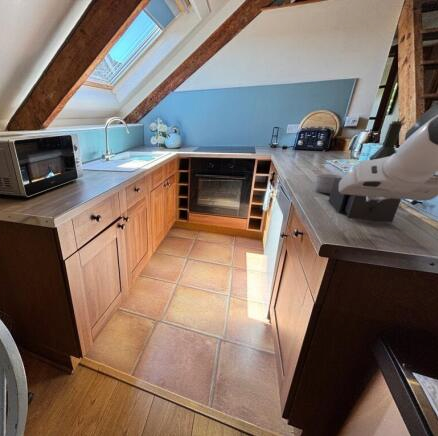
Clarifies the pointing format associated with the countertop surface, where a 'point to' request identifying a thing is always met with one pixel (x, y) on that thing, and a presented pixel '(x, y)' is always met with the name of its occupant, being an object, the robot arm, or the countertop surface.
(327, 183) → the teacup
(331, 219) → the countertop surface
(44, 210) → the countertop surface
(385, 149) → the wine bottle
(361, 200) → the drawer
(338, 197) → the dark grey drawer box
